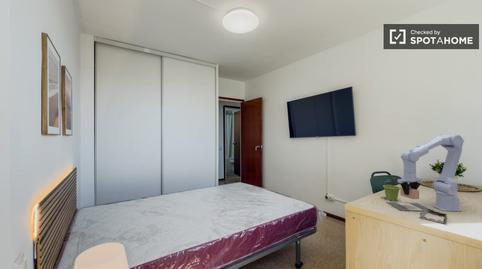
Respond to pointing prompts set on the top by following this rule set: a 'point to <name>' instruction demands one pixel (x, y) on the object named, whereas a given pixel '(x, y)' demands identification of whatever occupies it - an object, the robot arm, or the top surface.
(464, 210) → the top surface
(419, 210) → the charcoal mat
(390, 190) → the plant pot
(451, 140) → the robot arm
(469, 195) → the top surface
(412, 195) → the terracotta card box
